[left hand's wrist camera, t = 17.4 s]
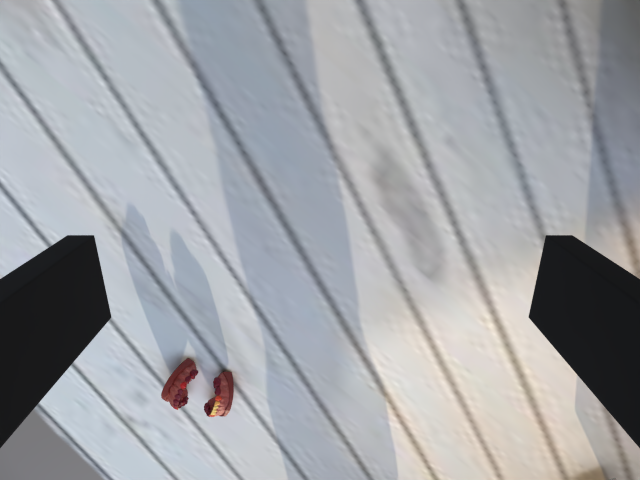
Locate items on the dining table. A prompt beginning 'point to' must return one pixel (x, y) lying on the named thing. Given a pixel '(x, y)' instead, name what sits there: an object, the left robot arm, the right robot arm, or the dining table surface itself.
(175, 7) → the dining table surface
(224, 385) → the dental model
